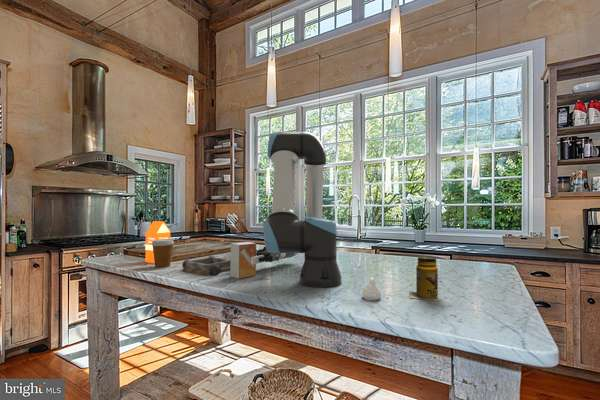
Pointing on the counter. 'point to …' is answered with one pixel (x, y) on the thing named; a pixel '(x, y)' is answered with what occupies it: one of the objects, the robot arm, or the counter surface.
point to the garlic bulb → (371, 291)
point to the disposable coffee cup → (162, 252)
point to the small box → (242, 260)
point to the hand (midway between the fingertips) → (238, 259)
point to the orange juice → (155, 237)
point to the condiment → (426, 279)
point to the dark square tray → (207, 266)
